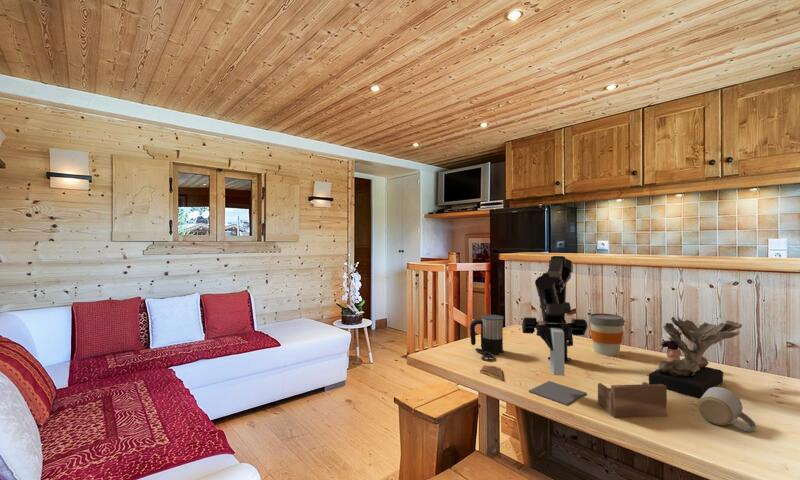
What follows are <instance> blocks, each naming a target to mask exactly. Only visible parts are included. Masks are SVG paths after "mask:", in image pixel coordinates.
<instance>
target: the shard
mask: <svg viewBox="0 0 800 480" xmlns="http://www.w3.org/2000/svg"><path fill="white" fill-rule="evenodd" d="M502 370H503V369H502V368H501V367H499V366H496V365H486V364H485V365H481V369H479V373H480V374H483V375H487V376H489V377H490V378H493V379H496V380H498V381H503V380H504V377H503V371H502Z"/></svg>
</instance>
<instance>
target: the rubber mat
mask: <svg viewBox="0 0 800 480" xmlns="http://www.w3.org/2000/svg"><path fill="white" fill-rule="evenodd" d="M528 392H529V393H531V394H533V395H537V396H539V397H542V398H545V399H548V400H550V401H552V402H556V403H558V404H562V405H565V406H568V405H570V404H572V403H574V402H575V401H578V399H580V398H582V397H584V396H586V395H587V392H585V391H583V390H580V389H576V388H572V387H570V386H567V385H564V384H560V383H557V382H555V381H551V380H548V381H545V382H544V383H541V384H540V385H538V386H535V387H533V388H531V389H529V390H528Z"/></svg>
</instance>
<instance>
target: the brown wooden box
mask: <svg viewBox="0 0 800 480" xmlns="http://www.w3.org/2000/svg"><path fill="white" fill-rule="evenodd" d="M667 391H668V390H667V386H665V385H663V384H649V382H646V381H644V382H642V384H611V385H610V387H607V386H605V385H604V384H603V383H601V382H598V383H597V405H598V406H599V407H601V409H603V411H606V412H607V413H608V414H609V415H611V416H612V417H613V418H614V419H615V418H616V419H618V418H619V419H621V418H655V417H656V418H660V417H661V418H662V417H663V418H664V417H668V416H667V415H668V411H667V409H668V408H667V407H668V406H667V405H668V404H667V401H668V397H667V395H668V393H667Z"/></svg>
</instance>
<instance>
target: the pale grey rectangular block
mask: <svg viewBox="0 0 800 480" xmlns="http://www.w3.org/2000/svg"><path fill="white" fill-rule="evenodd" d="M550 338H551V341H552V345H553V351H551V350H550V349H549V351H550V352H549V354H550V355H549V357H550V359H549V360H550V362H549V365H550V366H549V368H550V371H551V372H552V373H551V374H553V376H562V377H563V376H565V363H564V332H563V331H562V330H561V329H560V328H550Z"/></svg>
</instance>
